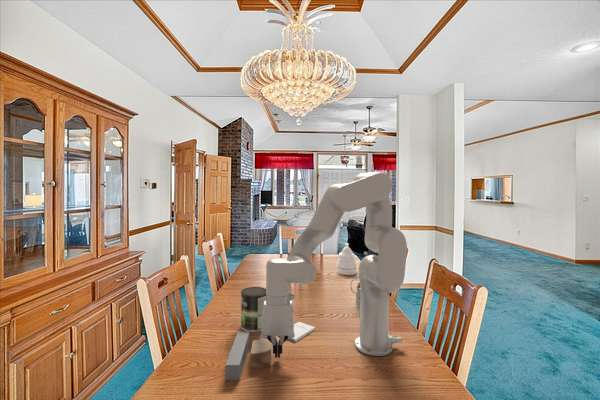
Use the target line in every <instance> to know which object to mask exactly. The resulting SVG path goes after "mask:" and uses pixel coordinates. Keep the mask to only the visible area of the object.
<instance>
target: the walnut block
mask: <svg viewBox="0 0 600 400" xmlns="http://www.w3.org/2000/svg"><path fill="white" fill-rule="evenodd" d="M271 363H272V343H271V342H270V341H269V340H268V339H258V340H256V339H253V340H252V344H251V349H250V368H270V367H271Z"/></svg>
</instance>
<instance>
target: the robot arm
mask: <svg viewBox="0 0 600 400" xmlns="http://www.w3.org/2000/svg"><path fill="white" fill-rule="evenodd" d="M393 185H394V184H393V180H392V178H391V177H390V175H389V174H387V173H385V172H382V171H375V172H374V171H372V172H362V173H358V174H356V176H355V177H354V178H353V180H352V182H348V183H335V184H332V185H330V186H329V187H327V189H326V190H325V191H324V194H323V196H322V197H321V199H320V202H319V204H318V206H317V207H316V210H315V211H314V213H313V215H312V218H311V220H310V222H309V223H308V225H306V227H305V228H304V230H303V231H302V233H300V235H299V236H298V237H297V239H296V240H295V242H294V244H293V245H292V247H291V250H290V252H289V254H288V256H287V258H282V257H276V258H275V257H274V258H270V259H268V260H267V261H266V265H265V267H266V268H265V269H266V271H265V272H266V273H265V289H266V301H264V304H263V311H262V326H261V330H262V331H260V338H262V339H264V340H269V341H270V342H271V346H272V354H274V358H275V359H277V358H279V359H280V358H281V355H282V354H283V345H284V343H286V341H288V339H290V338H294V337H295V333H294V324H295V316H294V315H295V312H294V305H293V301H292V300H295V297H296V296H295V294H292V293H291V284H298V285H305V284H306V285H307V284H310V283H312V282H313V281H314V280H315V279H316V277H317V272H318V271H317V267H316V266H315V263H313V262H312V261H311V260H310V259H311V257H312V256H313V254H314V251H315V250H316V249H317V247H318V246H319V245H321V243H323V242H326V241H327V240H328V239H330V238H331V237H333V236H334V234H335V233H336V230H337V228H338V226H339V223H340V222H341V220H342V218H343V216H344V214H345V213H346V212H347V213H349V212H355V211H356V210H360V209H362V208H365V210H366V212H365V213H366V217H365V218H366V219H365V220H366V221H365V231H364V244H365V246H366V248H367V249H369V250H370V251H372V252H373V253H376V254H377V255H376V254H368V255H366V257H365V256H363V258H362V259H361V260H360V263H359V265H358V274H359V279H358V280H359V282H360V288H359V289H360V292H361V293H360V294H361V295H360V308H359V336H358V337H356V338H355V340H354V346H355V348H356V349H357V350H358V351H359V352H360V353H363V354H365V355H368V356H374V357H383V356H388V355H390V354H391V353H392V352H393V345H394V344H402V343H403V338H402V337H400V336H397V335H396V334H390V333H389V315H390V314H389V312H390V311H389V310H390V309H389V307H390V295H389V294H391V293H396V292H397V291H399V290H400V289H401V287H402V286H403V283H404V281H405V274H406V265H407V263H406V262H407V254H408V253H407V252H408V242H407V239H406V236H405V234H404V233H403V232H402V230H400V229H398V228H396V227H393V206H392V202H391V200H390V197H389V195H390V194H391V192H392V190H393ZM277 337H279V340H277Z"/></svg>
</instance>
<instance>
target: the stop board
mask: <svg viewBox="0 0 600 400" xmlns="http://www.w3.org/2000/svg"><path fill="white" fill-rule="evenodd" d="M249 347H250V332H247V331H237V333H236V336H235V339H234V340H233V343H232V347H231V348H230V352H229V354H228V358H227V359H226V362H225V367H224V368H225V375H224V376H225V381H241V376H242V373H243V369H244V365H245V363H246V358H247V355H248V351H249Z"/></svg>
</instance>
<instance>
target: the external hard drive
mask: <svg viewBox="0 0 600 400" xmlns="http://www.w3.org/2000/svg"><path fill="white" fill-rule="evenodd" d="M313 331H316V327H315V326H313V325H309V324H308V323H304V322H301V321H298V322H296V323H294V333H295V337H294V338H290V339H287V341H288V340H289V341H290V342H294V343H297V342H298V341H300V340H302V339H303V338H304V337H306V336H308V335H310V333H313Z"/></svg>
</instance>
